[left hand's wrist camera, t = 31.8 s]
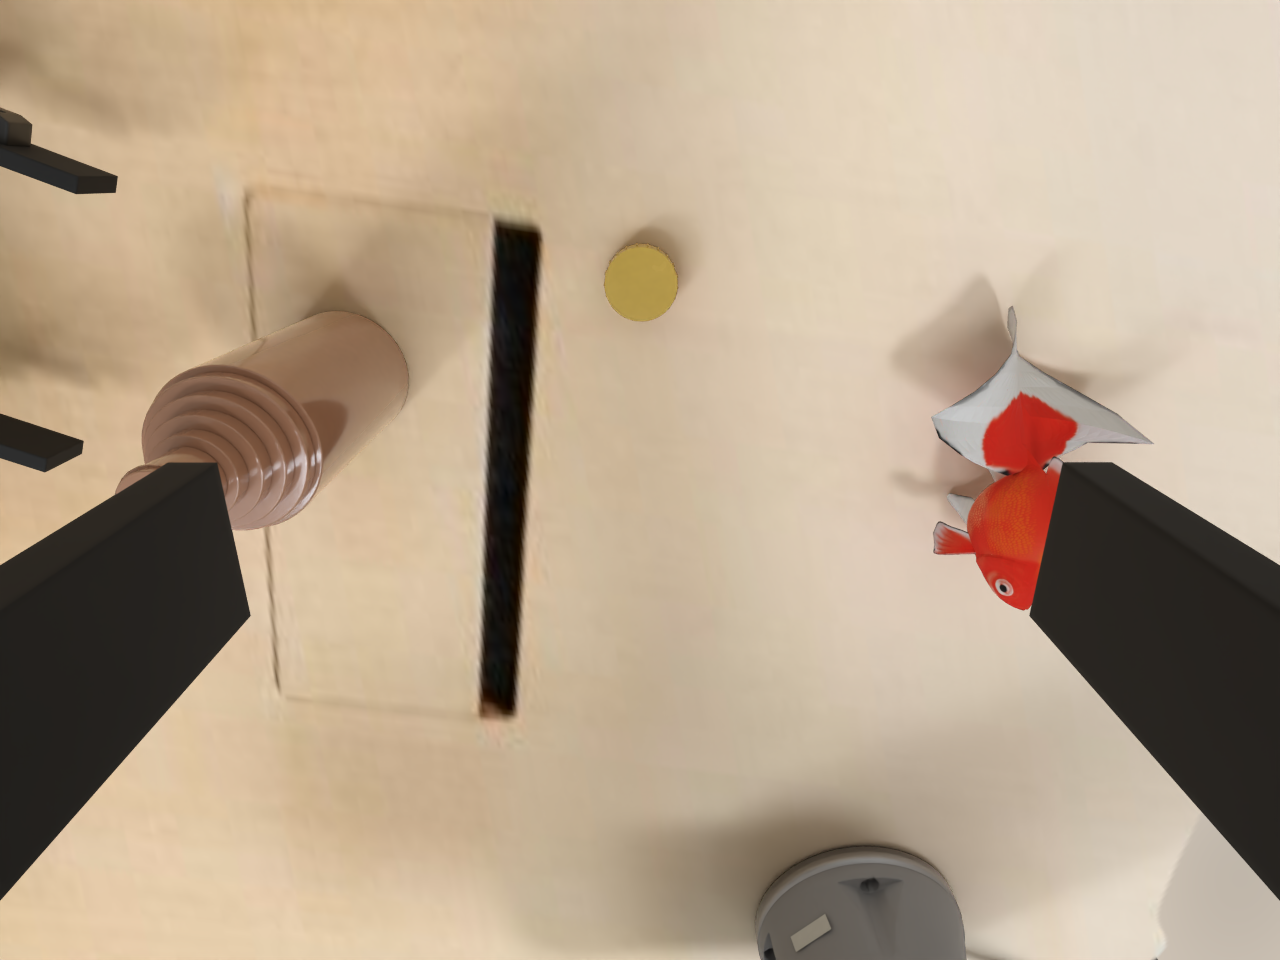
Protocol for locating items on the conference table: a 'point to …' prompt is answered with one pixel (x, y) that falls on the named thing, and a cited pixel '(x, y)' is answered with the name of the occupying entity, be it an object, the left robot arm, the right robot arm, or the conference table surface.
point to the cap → (641, 282)
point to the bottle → (279, 413)
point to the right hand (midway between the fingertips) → (81, 329)
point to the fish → (1018, 467)
